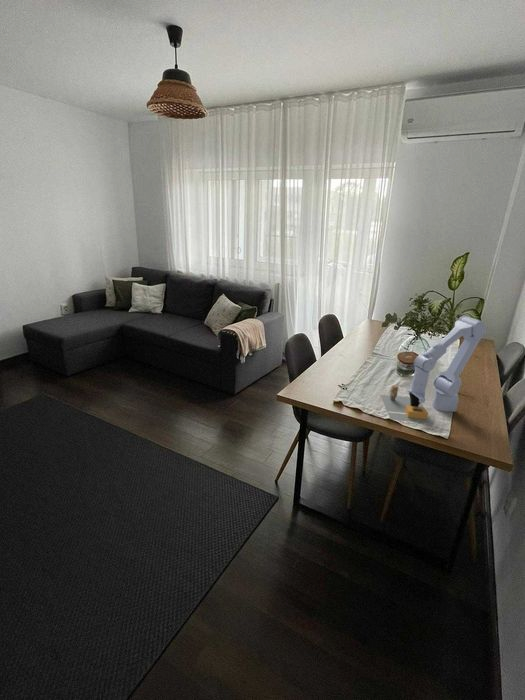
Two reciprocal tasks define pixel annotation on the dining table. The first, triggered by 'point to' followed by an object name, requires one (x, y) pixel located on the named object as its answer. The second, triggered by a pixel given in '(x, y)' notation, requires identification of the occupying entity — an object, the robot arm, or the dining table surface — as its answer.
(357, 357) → the dining table surface
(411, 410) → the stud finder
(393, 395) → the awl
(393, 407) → the floor panel
